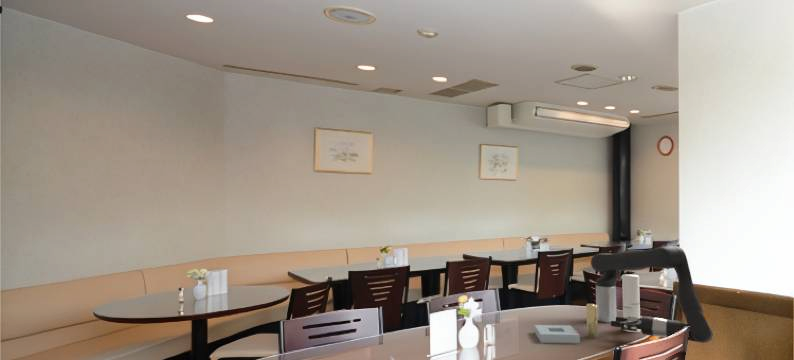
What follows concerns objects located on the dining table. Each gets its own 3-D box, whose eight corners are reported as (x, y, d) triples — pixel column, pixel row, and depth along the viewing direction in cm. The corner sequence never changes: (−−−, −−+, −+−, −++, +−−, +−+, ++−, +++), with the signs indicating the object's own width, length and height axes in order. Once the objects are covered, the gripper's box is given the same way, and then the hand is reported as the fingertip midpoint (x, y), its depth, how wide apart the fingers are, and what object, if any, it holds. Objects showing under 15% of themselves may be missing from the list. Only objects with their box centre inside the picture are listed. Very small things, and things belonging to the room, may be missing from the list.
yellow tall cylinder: (585, 335, 226) (585, 303, 226) (596, 335, 225) (595, 303, 226) (588, 338, 221) (587, 305, 222) (599, 338, 221) (598, 305, 221)
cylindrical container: (642, 332, 230) (640, 277, 230) (625, 331, 231) (624, 276, 232) (638, 328, 237) (636, 274, 237) (621, 327, 238) (620, 274, 239)
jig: (534, 332, 231) (534, 324, 231) (570, 333, 229) (570, 325, 229) (540, 342, 215) (540, 334, 215) (579, 343, 213) (579, 335, 213)
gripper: (657, 314, 215) (617, 309, 224) (651, 321, 203) (609, 315, 213) (658, 332, 214) (617, 326, 224) (652, 340, 203) (609, 333, 212)
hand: (613, 321), depth 218 cm, fingers open, 8 cm apart
